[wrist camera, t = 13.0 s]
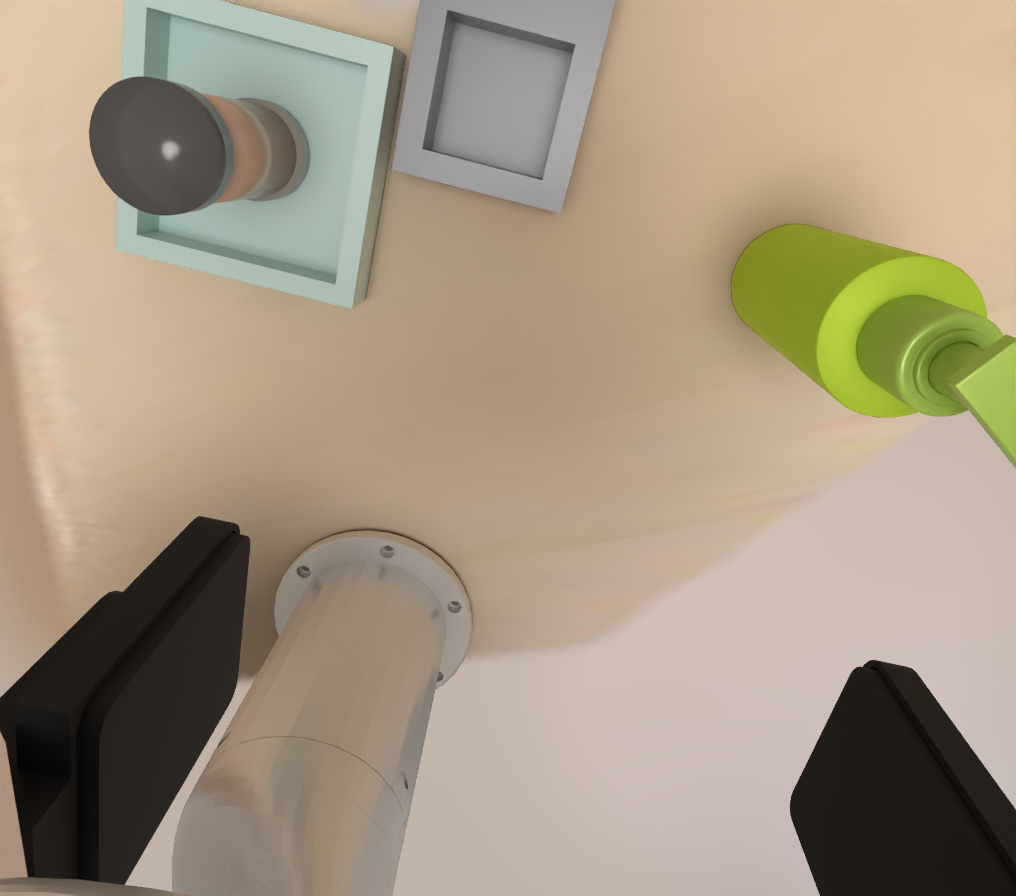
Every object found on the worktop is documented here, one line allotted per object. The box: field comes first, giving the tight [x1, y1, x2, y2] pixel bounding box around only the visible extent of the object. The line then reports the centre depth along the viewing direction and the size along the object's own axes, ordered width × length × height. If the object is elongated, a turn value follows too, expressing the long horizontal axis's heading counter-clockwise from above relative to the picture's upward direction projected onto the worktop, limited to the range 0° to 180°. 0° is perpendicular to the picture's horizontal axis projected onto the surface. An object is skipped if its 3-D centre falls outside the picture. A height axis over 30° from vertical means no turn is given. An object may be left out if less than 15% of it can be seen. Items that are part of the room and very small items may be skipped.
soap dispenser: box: [731, 224, 1016, 468], centre depth 29 cm, size 6×7×20 cm
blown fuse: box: [89, 76, 310, 216], centre depth 31 cm, size 5×5×11 cm
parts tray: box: [116, 0, 406, 309], centre depth 36 cm, size 12×12×3 cm
